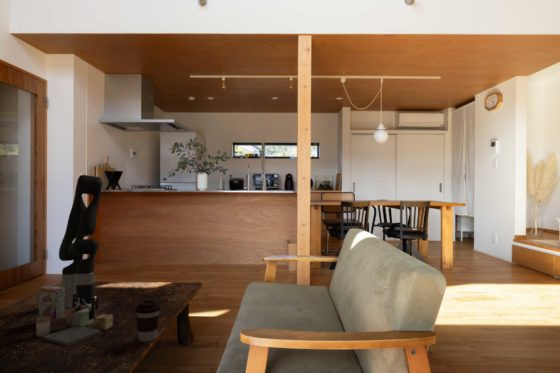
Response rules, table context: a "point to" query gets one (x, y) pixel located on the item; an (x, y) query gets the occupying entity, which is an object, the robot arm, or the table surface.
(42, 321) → the cream jar
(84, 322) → the sage block
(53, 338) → the board
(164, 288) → the table surface
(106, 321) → the oak cube
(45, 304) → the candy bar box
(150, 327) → the coffee cup
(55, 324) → the walnut block
